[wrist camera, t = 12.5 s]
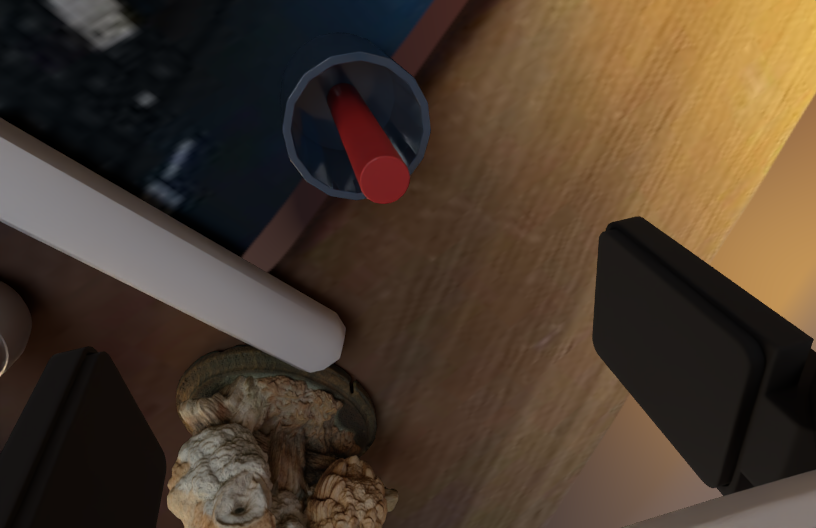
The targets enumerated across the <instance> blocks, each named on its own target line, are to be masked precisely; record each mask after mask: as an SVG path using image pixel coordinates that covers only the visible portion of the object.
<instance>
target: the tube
mask: <svg viewBox="0 0 816 528" xmlns="http://www.w3.org/2000/svg"><path fill="white" fill-rule="evenodd" d="M0 221H1V222H3V223H5V224H7V225H9V226H11V227H13V228H15V229H17V230H19V231H21V232H23V233H25V234H27V235H29V236H31V237H33V238H35V239H37V240H39V241H41V242H43V243H45V244H47V245H49V246H51V247H53V248H55V249H57V250H59V251H61V252H63V253H65V254H67V255H69V256H71V257H73V258H75V259H77V260H79V261H81V262H83V263H85V264H87V265H89V266H91V267H93V268H95V269H97V270H99V271H101V272H104V273H106V274H108V275H110V276H112V277H114V278H116V279H118V280H120V281H122V282H124V283H126V284H128V285H130V286H132V287H134V288H136V289H138V290H140V291H142V292H144V293H146V294H148V295H150V296H152V297H154V298H156V299H158V300H160V301H162V302H164V303H166V304H168V305H170V306H172V307H174V308H176V309H178V310H180V311H182V312H184V313H186V314H188V315H190V316H192V317H194V318H196V319H198V320H200V321H202V322H204V323H206V324H209V325H211V326H213V327H215V328H217V329H219V330H221V331H223V332H225V333H227V334H229V335H231V336H233V337H235V338H237V339H239V340H241V341H243V342H245V343H247V344H249V345H251V346H253V347H255V348H257V349H259V350H261V351H263V352H265V353H267V354H269V355H271V356H273V357H275V358H277V359H279V360H281V361H283V362H285V363H287V364H289V365H291V366H293V367H295V368H297V369H300V370H303V371H306V372H310V373H311V372H316V371H320V370H324V369H325V368H327V367H328V366H330V365H331V364H333V363H334V362H335V361H337V360H338V359H340V356H341V351H342V347H343V343H344V338H345V331H346V327H345V326H344V324H343V323H342V321H341V319H340V318H339V316H338V315H337V313H336V312H334V311H332V310H331V309H329V308H327V307H325V306H324V305H322V304H320V303H319V302H317V301H315V300H313V299H312V298H310V297H308V296H306V295H305V294H303V293H301V292H300V291H298V290H296V289H294V288H293V287H291V286H289V285H287V284H286V283H284V282H282V281H281V280H279V279H277V278H275V277H274V276H272V275H270V274H269V273H267V272H265V271H263V270H262V269H260V268H258V267H256V266H255V265H253V264H251V263H250V262H248V261H246V260H244V259H243V258H241V257H239V256H238V255H236V254H234V253H232V252H231V251H229V250H227V249H225V248H224V247H222V246H220V245H219V244H217V243H215V242H213V241H212V240H210V239H208V238H207V237H205V236H203V235H201V234H200V233H198V232H196V231H194V230H193V229H191V228H189V227H188V226H186V225H184V224H182V223H181V222H179V221H177V220H176V219H174V218H172V217H170V216H169V215H167V214H165V213H163V212H162V211H160V210H158V209H157V208H155V207H153V206H151V205H150V204H148V203H146V202H145V201H143V200H141V199H139V198H138V197H136V196H134V195H132V194H131V193H129V192H127V191H126V190H124V189H122V188H120V187H119V186H117V185H115V184H114V183H112V182H110V181H108V180H107V179H105V178H103V177H101V176H100V175H98V174H96V173H95V172H93V171H91V170H89V169H88V168H86V167H84V166H83V165H81V164H79V163H77V162H76V161H74V160H72V159H70V158H69V157H67V156H65V155H64V154H62V153H60V152H58V151H57V150H55V149H53V148H52V147H50V146H48V145H46V144H45V143H43V142H41V141H39V140H38V139H36V138H34V137H33V136H31V135H29V134H27V133H26V132H24V131H22V130H21V129H19V128H17V127H15V126H14V125H12V124H10V123H8V122H7V121H5V120H4V119H2V118H1V117H0Z"/></svg>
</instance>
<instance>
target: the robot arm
mask: <svg viewBox="0 0 816 528" xmlns="http://www.w3.org/2000/svg"><path fill="white" fill-rule="evenodd" d="M592 339H593V344H594V347H595V350H596V352H597V353H598V355H599V356H600V357H601V359H602V360H603V361H604V362H605V364H606V365H607V366H608V367H609V368H610V370H611V371H612V372H613V373H614V374H615V376H616V377H617V378H618V379H619V381H620V382H621V383H622V384H623V385H624V387H625V388H626V389H627V390H628V391H629V393H630V394H631V395H632V396H633V397H634V399H635V400H636V401H637V402H638V403H639V404H640V406H641V407H642V408H643V410H644V411H645V412H646V413H647V414H648V416H649V417H650V418H651V419H652V421H653V422H654V423H655V424H656V425H657V427H658V428H659V429H660V430H661V431H662V433H663V434H664V435H665V436H666V438H667V439H668V440H669V441H670V442H671V444H672V445H673V446H674V447H675V448H676V450H677V451H678V452H679V453H680V455H681V456H682V457H683V458H684V459H685V461H686V462H687V463H688V464H689V465H690V467H691V468H692V469H693V470H694V472H695V473H696V474H697V475H698V476H699V478H700V479H701V480H702V481H703V482H704V483H705V484H706V485H707V486H709V487H711V488H717V489H718V490H719V491H720V492H721V494H722V495H723V496H722V497H719V498H715V499H712V500H709V501H706V502H703V503H700V504H696V505H693V506H690V507H687V508H684V509H680V510H677V511H674V512H670V513H667V514H664V515H661V516H657V517H654V518H651V519H648V520H644V521H641V522H638V523H635V524H632V525H629V526H625V527H622V528H816V352H815V351H814V350H812V349H811V346H812V343H813V340H814V339H813V338H811V337H810V336H808V335H807V334H805V333H804V332H803V331H801V330H800V329H798V328H797V327H796V326H794V325H793V324H792V323H790V322H789V321H787V320H786V319H784V318H783V317H781V316H780V315H779V314H778V313H776V312H775V311H773V310H772V309H770V308H769V307H768V306H766V305H765V304H763V303H762V302H760V301H759V300H758V299H756V298H755V297H754V296H752V295H751V294H749V293H748V292H747V291H745V290H744V289H742V288H741V287H739V286H738V285H737V284H735V283H734V282H732V281H731V280H730V279H728V278H727V277H725V276H724V275H723V274H721V273H720V272H718V271H717V270H715V269H714V268H713V267H711V266H710V265H709V264H707V263H706V262H704V261H703V260H701V259H700V258H699V257H697V256H696V255H694V254H693V253H692V252H690V251H689V250H687V249H686V248H685V247H683V246H682V245H680V244H679V243H678V242H676V241H675V240H673V239H672V238H671V237H669V236H668V235H666V234H665V233H663V232H662V231H661V230H659V229H658V228H656V227H655V226H654V225H652V224H651V223H649V222H648V221H647V220H645V219H644V218H642V217H640V216H639V217H632V218H628V219H624V220H620V221H615V222H611V223H610V224H608V226H607V228H606V231H605V232H602V233H601V235H600V237H599V246H598V261H597V276H596V290H595V305H594V320H593V334H592ZM165 475H166V459H165V455H164V452H163V450H162V448H161V446H160V445H159V443H158V441H157V439H156V437H155V436H154V434H153V432H152V430H151V429H150V427H149V425H148V423H147V421H146V420H145V418H144V416H143V414H142V413H141V411H140V409H139V407H138V405H137V404H136V402H135V400H134V398H133V396H132V395H131V393H130V391H129V389H128V388H127V386H126V384H125V382H124V380H123V379H122V377H121V375H120V373H119V372H118V370H117V368H116V366H115V364H114V363H113V361H112V359H111V357H110V356H109V355H108V354H107V353H106V352H99V353H98V352H97V351H96V350H95V349H94V348H93V347H89V346H88V347H84V348H80V349H76V350H71V351H67V352H63V353H59V354H55V355H53V356H52V357H51V358H50V360H49V361H48V363H47V365H46V367H45V369H44V371H43V373H42V375H41V377H40V379H39V381H38V383H37V385H36V387H35V388H34V390H33V392H32V394H31V396H30V398H29V400H28V402H27V404H26V406H25V408H24V410H23V412H22V414H21V415H20V417H19V419H18V421H17V423H16V425H15V427H14V429H13V431H12V433H11V435H10V437H9V439H8V441H7V442H6V444H5V446H4V448H3V450H2V452H1V454H0V528H156V523H157V518H158V513H159V507H160V502H161V496H162V491H163V486H164V480H165Z"/></svg>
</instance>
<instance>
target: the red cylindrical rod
mask: <svg viewBox="0 0 816 528" xmlns="http://www.w3.org/2000/svg"><path fill="white" fill-rule="evenodd" d="M327 103H328V106H329V109H330V111H331V114H332V117H333V119H334V122H335V124H336V127H337V129H338V132H339V135H340V137H341V140H342V142H343V145H344V147H345V150H346V152H347V155H348V158H349V160H350V163H351V165H352V168H353V170H354V173H355V176H356V178H357V181H358V183H359V186H360V188H361V191H362V193H363V194H364V195H365V197H367V198H368V199H369V200H371V201H372V202H375V203H379V204H387V203H392V202H394V201H396V200H398V199H399V198H400V197H402V196H403V194H404V193H405V192H406V190H407V188H408V186H409V182H410V174H409V170H408V168H407V166H406V164H405V163H404V161H403V160H402V158H401V157H400V155H399V154H398V152H397V151H396V149H395V148H394V146H393V144H392V143H391V141H390V140H389V138H388V137H387V135H386V134H385V132H384V131H383V129H382V128H381V126H380V125H379V123H378V122H377V120H376V118H375V117H374V115H373V114H372V112H371V111H370V109H369V108H368V106H367V105H366V103H365V102H364V100H363V99H362V97H361V96H360V94H359V92H358V91H357V90H356V88H355V87H353V86H352V85H350V84H347V83H340V84H337V85H335V86H333V87H332V88H331V90H330V91H329V93H328V96H327Z"/></svg>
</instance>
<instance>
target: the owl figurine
mask: <svg viewBox="0 0 816 528" xmlns="http://www.w3.org/2000/svg"><path fill="white" fill-rule="evenodd" d="M218 352H219V351H214V352H212V353H208V354H207V355H205V356H202V357H201V358H200V359H198V360H197V361H195V363H193V364H192V366H190V367H189V369H188V370H186V372H185V373H184V375H183V376H182V377H181V379H180V380H179V384H178V388H177V393H176V404H177V405H176V407H177V411H178V414H179V417H180V419H181V421H182V423H183V424H184V425H185V427H186V428H187V430H188V431H189V432H190V433H191V434H192V435H193V436H192V437H191V438H190V439H189V440H188V441H187V442H186V443H184V444H183V446H182V447H181V449H180V451H179V456H178V458H177V461H176V462H175V464H174V466H173V467H172V478H171V479H170V480H169V482H168V488H169V489H170V492H169V494H168V496H167V503H168V509H169V510H171V511H172V512H173V514H174V515H175V516H176V517H178V518H180V519H181V520H182V522H183V524H184V526H185V528H382V524H383V523H384V521H385V519H386V514H387V512H388V511H389V512H390V511H392V510H393V509H394V507H395V504H396V503H397V501H398V499H399V498H398V495H399V494H398V491H397V490H395V489H388V488H386V487H384V484H383V483H382V481H381V480H380V478H379V477H377V476H376V475H375V474H374V471H373V469H372V468H371V466H370V465H369V464H368V463H367V462H366V461H364V460H359V457H360V456H362V455H363V454H364V453H365V452H366V451H367V450H368V449H369V447H370V446H371V445H372V443H373V441H374V439H375V435H376V428H377V423H376V415H375V410H374V406H373V403H372V401H371V399H370V397H369V395H368V394H367V393H366V391H365V390H364V389H363V388H362V387H361V384H359V382H357V381H354V383H353V387H354V389H353V390H354V393H353V394H351V392H350V386H349V382H350V381H351V377H350V375H348V374H347V373H346V372H345V371H344V370H342V369H341V368H339V367H337V366H335V365H334V364H331V365H330V366H328V367H327V368H325V369H324V370H320V371H316V372H311V373H310V372H306V371H303V370H300V369H297V368H295V367H293V366H291V365H289V364H287V363H285V362H283V361H281V360H279V359H277V358H275V357H273V356H271V355H269V354H267V353H265V352H263V351H261V350H259V349H257V348H255V347H253V346H251V345H247V346H246V345H242V346H235V347H233V348H230V349H226V350H225V351H224V352H220V353H218ZM336 457H337V458H336Z"/></svg>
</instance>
